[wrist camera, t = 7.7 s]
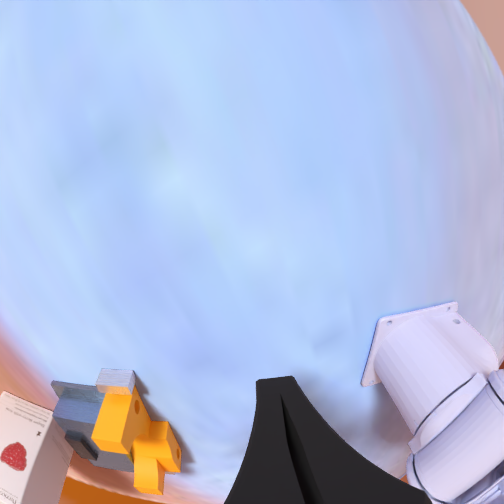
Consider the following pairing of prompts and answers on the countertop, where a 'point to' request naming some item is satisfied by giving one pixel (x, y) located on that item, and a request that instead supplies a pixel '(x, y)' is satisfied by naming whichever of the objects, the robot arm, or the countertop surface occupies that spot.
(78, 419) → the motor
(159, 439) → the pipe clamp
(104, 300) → the countertop surface
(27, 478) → the supplement box
